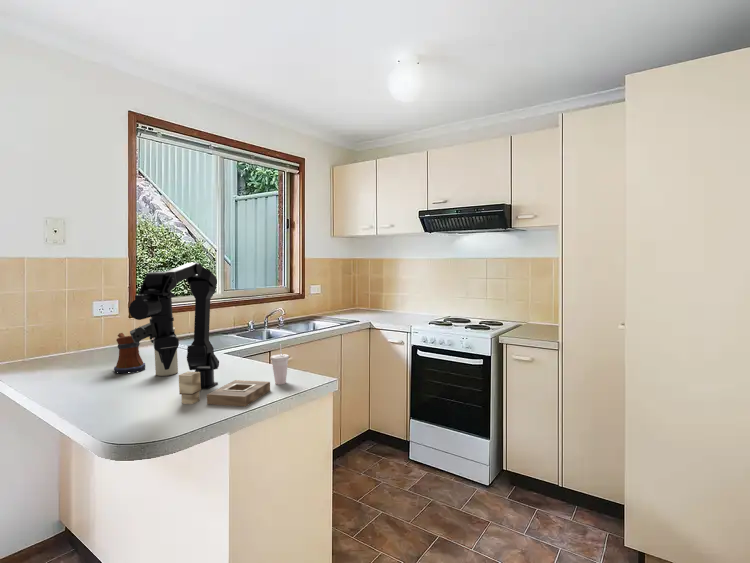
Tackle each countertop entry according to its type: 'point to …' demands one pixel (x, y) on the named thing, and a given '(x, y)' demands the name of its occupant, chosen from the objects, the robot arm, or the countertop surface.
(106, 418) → the countertop surface
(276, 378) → the smoothie
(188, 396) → the peg
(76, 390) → the countertop surface
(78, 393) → the countertop surface
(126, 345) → the mug
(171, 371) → the travel mug
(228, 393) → the board
